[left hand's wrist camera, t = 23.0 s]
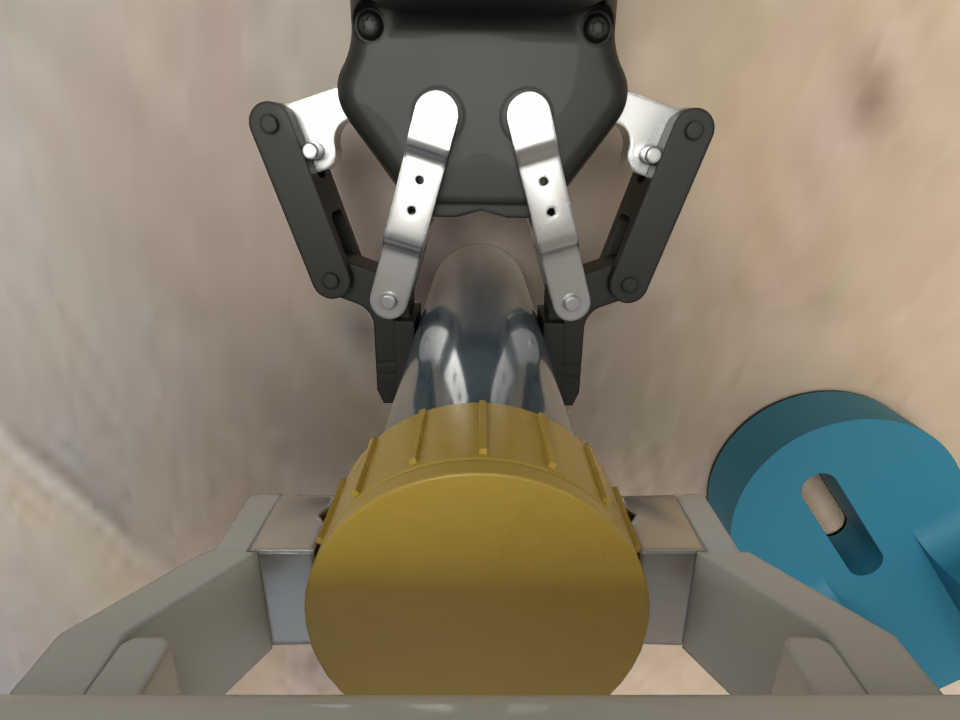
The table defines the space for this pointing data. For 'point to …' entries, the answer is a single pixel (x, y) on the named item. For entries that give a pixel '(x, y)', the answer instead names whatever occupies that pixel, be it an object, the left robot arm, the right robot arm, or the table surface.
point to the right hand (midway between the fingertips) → (478, 408)
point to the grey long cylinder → (478, 342)
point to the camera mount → (853, 515)
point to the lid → (477, 563)
